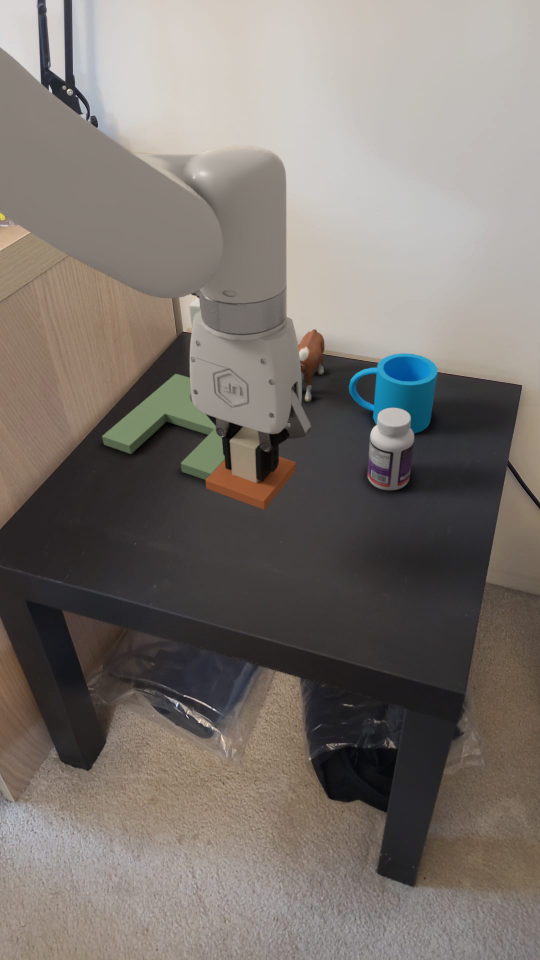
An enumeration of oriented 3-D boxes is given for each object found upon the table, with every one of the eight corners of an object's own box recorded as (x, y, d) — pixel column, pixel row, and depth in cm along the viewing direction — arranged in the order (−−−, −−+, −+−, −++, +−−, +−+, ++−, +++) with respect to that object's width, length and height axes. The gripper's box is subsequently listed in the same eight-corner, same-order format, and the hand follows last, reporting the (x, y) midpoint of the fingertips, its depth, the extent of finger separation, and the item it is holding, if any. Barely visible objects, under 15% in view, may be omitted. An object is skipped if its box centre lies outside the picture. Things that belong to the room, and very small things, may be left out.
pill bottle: (401, 462, 91) (409, 401, 85) (414, 488, 87) (423, 427, 81) (362, 467, 90) (366, 406, 84) (373, 494, 86) (378, 432, 80)
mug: (434, 406, 100) (441, 357, 95) (425, 439, 95) (432, 389, 89) (354, 393, 104) (357, 346, 98) (341, 424, 98) (343, 375, 92)
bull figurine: (275, 409, 101) (273, 361, 96) (306, 364, 110) (306, 318, 105) (303, 415, 100) (303, 367, 94) (332, 369, 109) (333, 322, 104)
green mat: (103, 444, 96) (101, 436, 95) (176, 381, 108) (175, 373, 107) (212, 482, 89) (211, 473, 88) (277, 410, 101) (277, 402, 100)
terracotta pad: (206, 488, 72) (201, 445, 68) (240, 452, 76) (237, 409, 72) (264, 510, 69) (263, 466, 65) (296, 470, 73) (296, 427, 70)
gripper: (141, 302, 60) (166, 464, 72) (308, 345, 54) (305, 514, 66) (189, 270, 65) (205, 427, 77) (347, 306, 59) (337, 470, 71)
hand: (251, 466), depth 71 cm, fingers closed on terracotta pad, 3 cm apart
